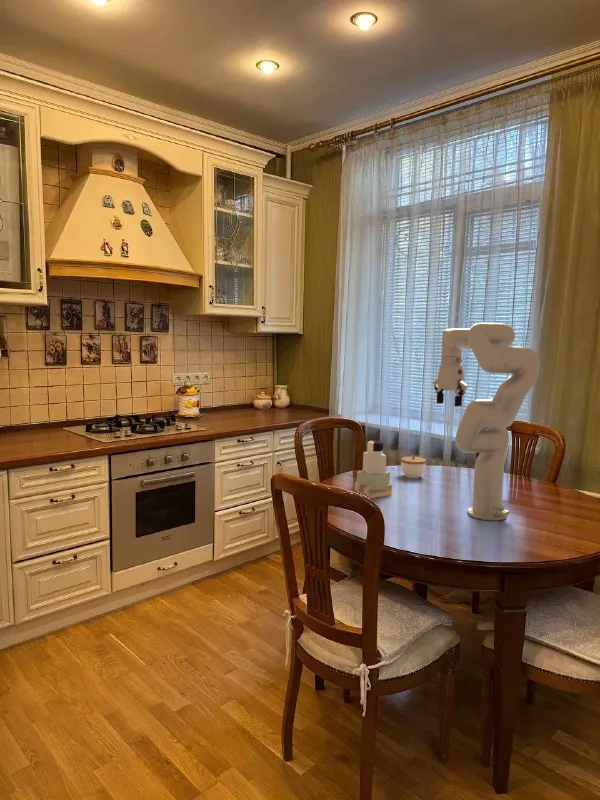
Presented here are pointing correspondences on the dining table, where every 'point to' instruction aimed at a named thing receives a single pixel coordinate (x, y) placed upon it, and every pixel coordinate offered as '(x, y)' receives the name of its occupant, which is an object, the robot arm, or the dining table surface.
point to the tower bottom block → (373, 490)
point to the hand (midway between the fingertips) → (448, 404)
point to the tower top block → (373, 479)
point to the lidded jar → (413, 466)
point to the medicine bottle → (374, 458)
